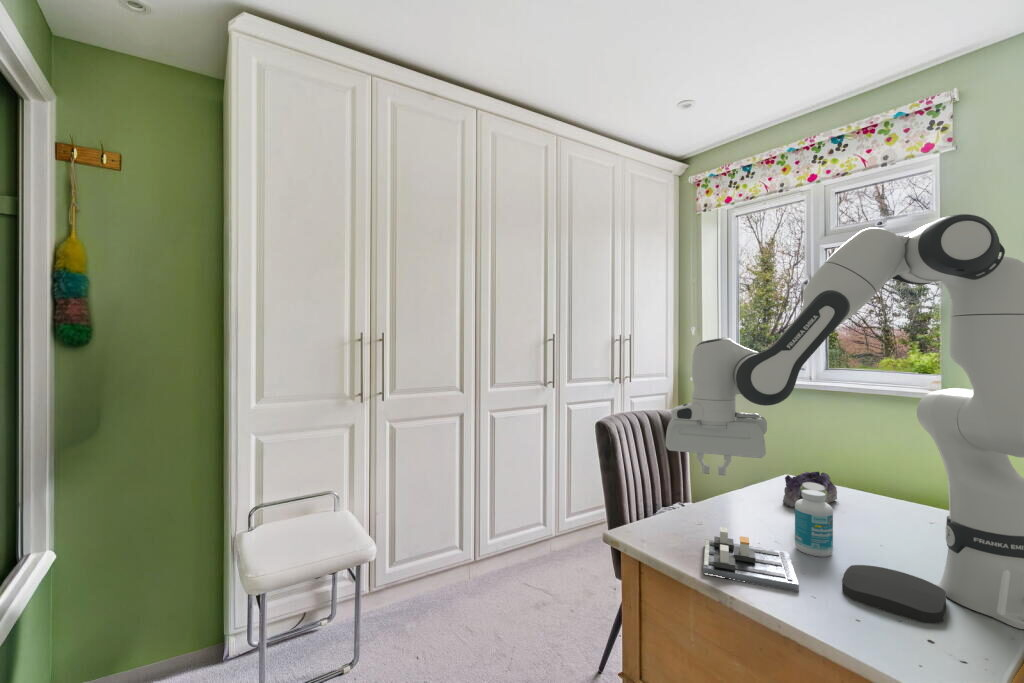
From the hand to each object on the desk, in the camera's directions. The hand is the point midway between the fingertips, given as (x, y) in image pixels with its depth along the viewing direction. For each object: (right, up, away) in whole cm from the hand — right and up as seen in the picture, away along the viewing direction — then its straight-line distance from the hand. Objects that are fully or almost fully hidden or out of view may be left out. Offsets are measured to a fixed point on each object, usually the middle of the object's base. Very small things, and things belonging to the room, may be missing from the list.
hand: (713, 474), depth 103 cm
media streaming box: (+27, -20, -15) cm, 37 cm away
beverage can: (+33, -20, +17) cm, 42 cm away
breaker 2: (0, -17, -6) cm, 18 cm away
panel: (+6, -19, -3) cm, 20 cm away
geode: (+45, -20, +38) cm, 63 cm away
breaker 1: (+4, -17, +4) cm, 18 cm away
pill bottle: (+25, -19, +5) cm, 32 cm away
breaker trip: (+6, -17, -3) cm, 18 cm away
